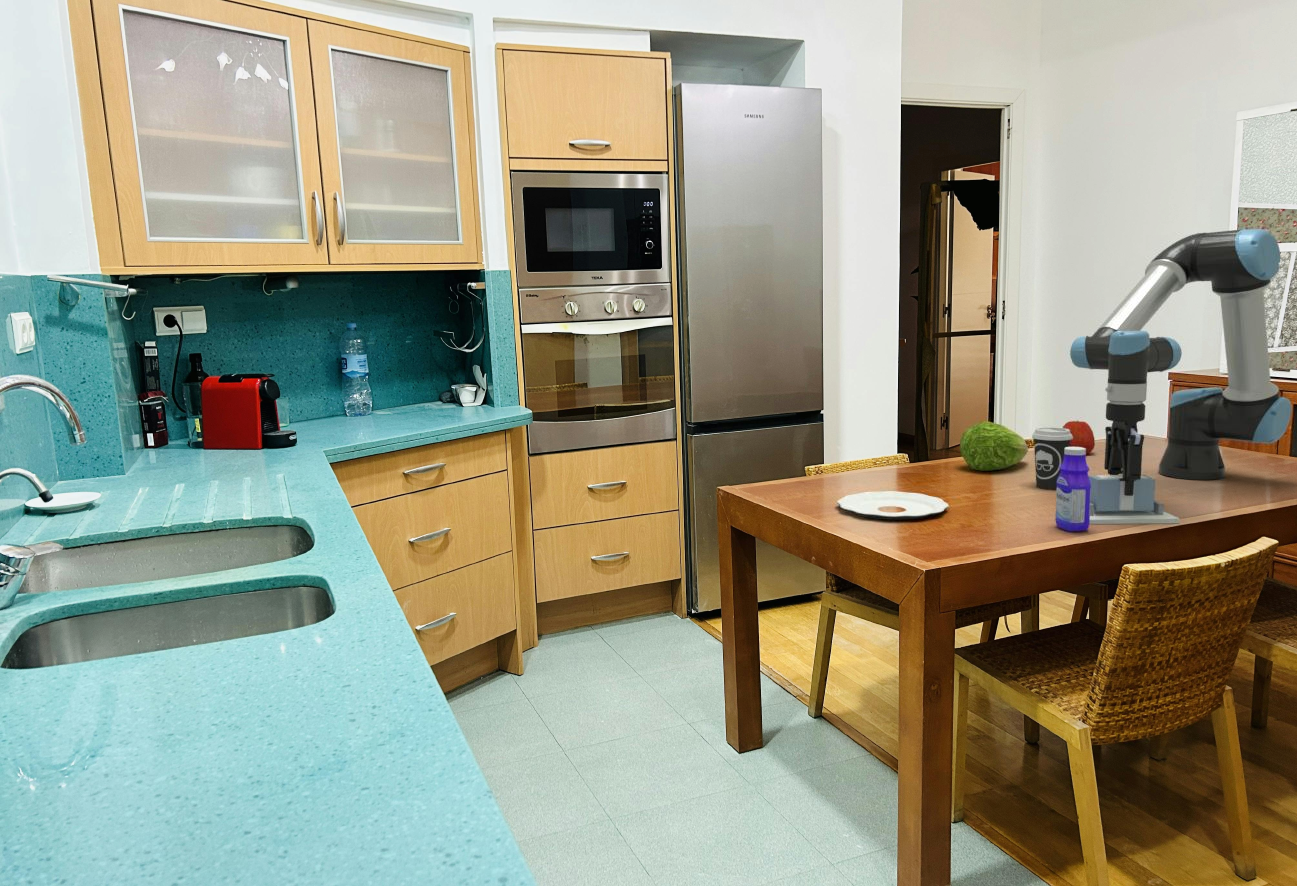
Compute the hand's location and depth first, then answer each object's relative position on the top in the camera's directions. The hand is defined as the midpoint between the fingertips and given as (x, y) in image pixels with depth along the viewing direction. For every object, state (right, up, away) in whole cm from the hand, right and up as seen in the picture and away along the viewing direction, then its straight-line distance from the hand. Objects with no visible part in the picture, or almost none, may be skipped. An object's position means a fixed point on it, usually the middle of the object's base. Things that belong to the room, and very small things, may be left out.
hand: (1120, 506), depth 195 cm
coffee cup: (-1, +2, +31) cm, 31 cm away
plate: (-47, -2, +14) cm, 49 cm away
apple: (+27, +11, +75) cm, 81 cm away
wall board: (0, -2, 0) cm, 2 cm away
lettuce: (-4, +7, +58) cm, 59 cm away
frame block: (0, 0, 0) cm, 0 cm away
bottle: (-15, -4, -8) cm, 17 cm away
